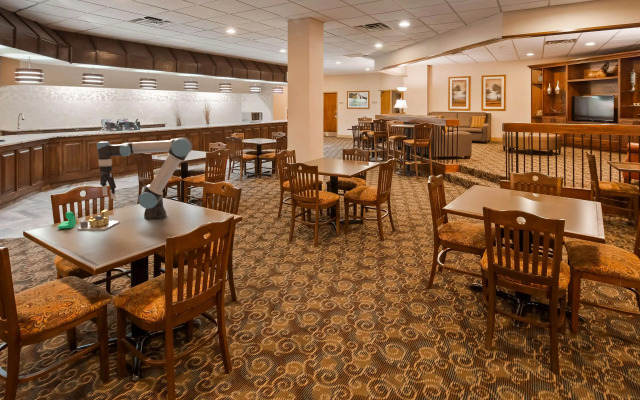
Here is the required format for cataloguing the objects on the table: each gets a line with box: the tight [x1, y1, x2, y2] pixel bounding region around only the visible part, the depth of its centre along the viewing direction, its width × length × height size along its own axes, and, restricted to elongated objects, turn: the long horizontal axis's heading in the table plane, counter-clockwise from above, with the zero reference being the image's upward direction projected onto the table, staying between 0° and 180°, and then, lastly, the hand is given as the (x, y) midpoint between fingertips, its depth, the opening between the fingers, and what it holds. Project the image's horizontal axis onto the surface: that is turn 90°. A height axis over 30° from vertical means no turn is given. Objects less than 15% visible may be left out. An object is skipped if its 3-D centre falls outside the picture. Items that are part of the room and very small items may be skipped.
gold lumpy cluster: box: [88, 209, 110, 226], centre depth 268 cm, size 16×11×7 cm
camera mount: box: [57, 211, 77, 230], centre depth 264 cm, size 12×8×10 cm, turn 16°
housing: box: [77, 214, 120, 231], centre depth 266 cm, size 19×18×7 cm
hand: (109, 196), depth 269 cm, fingers open, 13 cm apart
